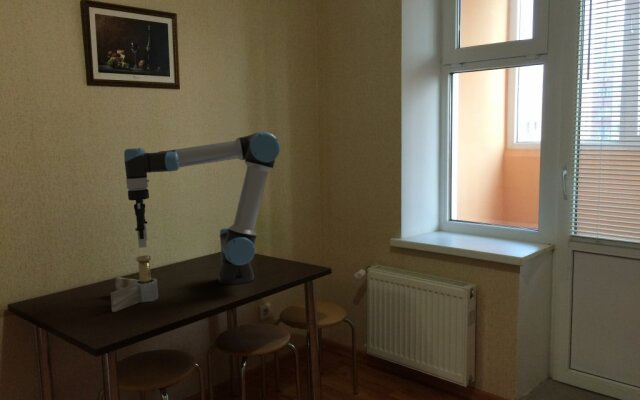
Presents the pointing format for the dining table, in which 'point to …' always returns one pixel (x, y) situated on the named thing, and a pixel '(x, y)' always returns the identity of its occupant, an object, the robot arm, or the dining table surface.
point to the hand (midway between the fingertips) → (143, 244)
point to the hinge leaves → (124, 294)
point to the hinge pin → (144, 269)
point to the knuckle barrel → (147, 290)
